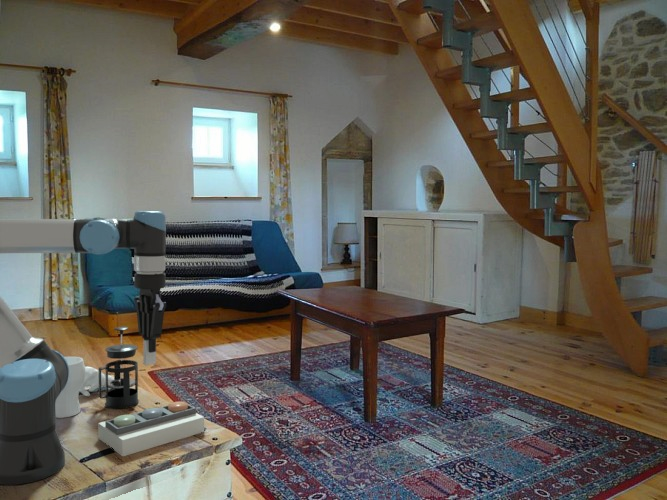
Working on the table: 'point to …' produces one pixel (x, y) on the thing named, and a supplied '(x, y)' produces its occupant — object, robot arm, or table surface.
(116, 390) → the french press
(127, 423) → the button sage
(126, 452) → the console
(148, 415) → the button slate
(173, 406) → the button terracotta
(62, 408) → the cup
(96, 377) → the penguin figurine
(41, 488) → the table surface
